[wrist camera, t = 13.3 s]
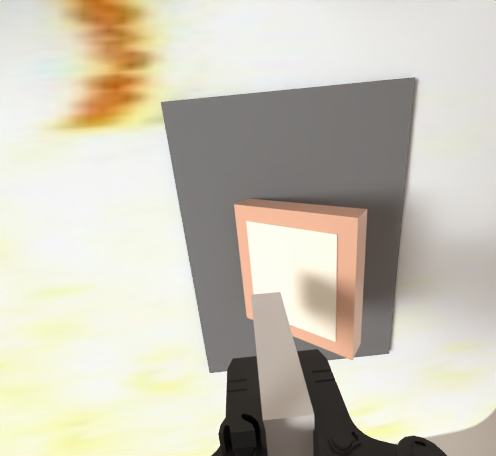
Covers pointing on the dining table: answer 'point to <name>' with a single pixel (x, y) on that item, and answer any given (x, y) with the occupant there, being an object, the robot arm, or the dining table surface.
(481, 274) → the dining table surface
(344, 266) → the terracotta tile
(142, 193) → the dining table surface
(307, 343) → the rubber mat
